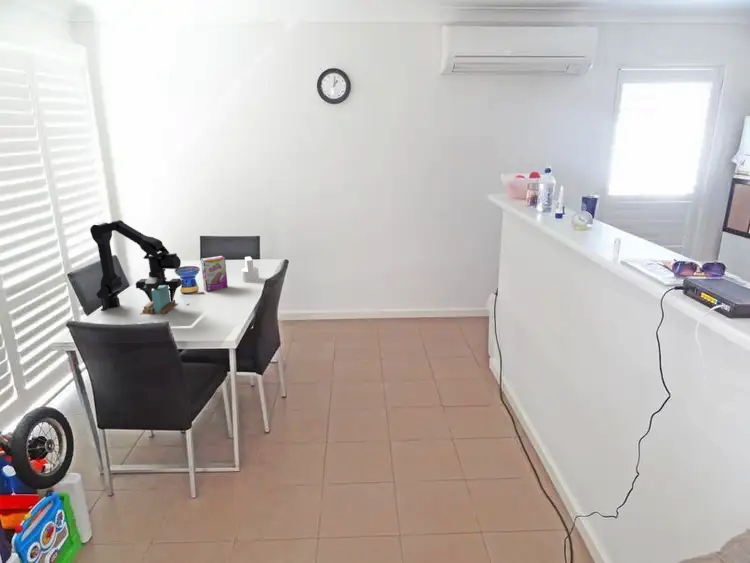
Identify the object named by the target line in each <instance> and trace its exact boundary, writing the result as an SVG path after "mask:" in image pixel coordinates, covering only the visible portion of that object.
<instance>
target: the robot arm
mask: <svg viewBox="0 0 750 563" xmlns="http://www.w3.org/2000/svg"><path fill="white" fill-rule="evenodd" d="M89 231H90V232H89V233H90V234H91V238H92V240H93V241H94V242H95V243H96V244H97V250H98V256H99V261H100V267H101V272H102V277H101V279H100V289H99V290H98V291H97V293H96V297H97V298H98V299H100V302H101V306H102V308H100V310H101V311H106V310H109V309H113V308H118V307H119V306H121V303H120V298H119V297H118V294H120V290H121V288H122V285H123V282H122V277H121V275H120V276H118V275H117V274H116V271H115V266H114V259H113V254H112V249H111V248H112V247H111V240H112V237H113V231H115V232H117V233H119V234H120V235H122V236H124V237H125V238H127V239H129V240H130V241H132V242H134V243H135V244H137V245H138V246H139V247H140V249H141V250H142V251H143V252H144V253H146V254H145V255H144V257H142V258H143V259H144V260H148V266H149V272H148V277H147V278H141V279H139V280H137V281H136V282H135V288H136V289H139V290H140V291H142V292H144V293H145V295H146V296H147V298H148V299H149V302H150V301H151V302H152V301H153V299H152V292H151V291H153V290H154V289H157V288H158V287H159V286H162V285H168V288H169V295H170V301H171V302H172V301H173V300H174V298H175V295H176V291H177V289H178V288H180V286H182V285H183V280H182V279H181V278H171V279H170V280H168V279H167V277H166V274H165V273H166V270H179V268H180V267H181V264H182V263H181V259H180V257H179V256H178V254H177V253H174V252H173V253H170V251H169V250H168V249H167V248H166V247H165V246H164V244H163V242H162V241H161V240H160V239H157V237H156V238H155V237H153V236H148V235H145V234H143V233H141V232H140V231H138V230H137V229H135V228H133V227H132V226H130V225H128V224H127V223H126V222H124V221H123V220H121V219H118V220H117V219H116V220H114V221H111V222H109V223H108V222H105V221H103V222H100V223H96V224H93V225H92V226H91V227H90V228H89Z"/></svg>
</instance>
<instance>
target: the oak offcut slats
mask: <svg viewBox="0 0 750 563" xmlns="http://www.w3.org/2000/svg"><path fill="white" fill-rule="evenodd" d="M153 306H154V305H153V301H152V302H151V301H150V300H149V301H148V303H146V304H145V305H144V306H143V309H142V311H141V312H143V313H149V309H150V308H152V307H153Z"/></svg>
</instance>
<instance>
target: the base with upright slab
mask: <svg viewBox="0 0 750 563" xmlns="http://www.w3.org/2000/svg"><path fill="white" fill-rule="evenodd" d="M244 263H245V264H244V265H245V267H243V268H241V270H240V271H241V273H240V274H241V282H243V281H244V283H254V282H258V281H260V276H259V267H255V266H254V260H253V258H252V257H251V256H245V257H244Z"/></svg>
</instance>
